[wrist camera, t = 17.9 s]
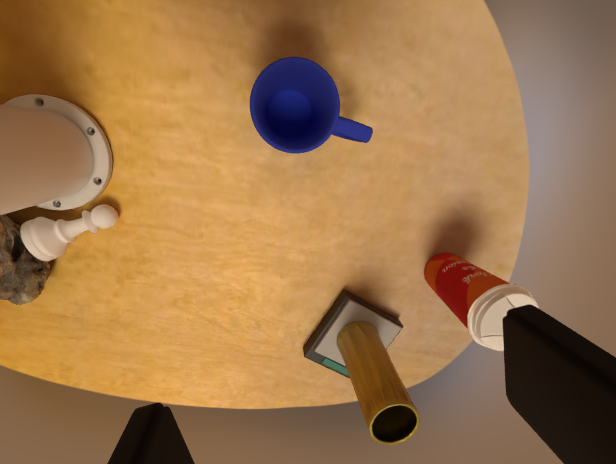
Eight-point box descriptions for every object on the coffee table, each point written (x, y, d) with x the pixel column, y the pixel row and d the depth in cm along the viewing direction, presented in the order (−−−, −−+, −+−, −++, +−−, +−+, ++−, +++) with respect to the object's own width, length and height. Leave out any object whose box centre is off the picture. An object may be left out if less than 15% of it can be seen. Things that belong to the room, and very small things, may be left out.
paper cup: (477, 256, 47) (558, 302, 34) (451, 301, 49) (519, 363, 36) (431, 237, 46) (498, 279, 32) (407, 285, 47) (460, 343, 34)
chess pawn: (50, 270, 38) (128, 239, 39) (14, 242, 34) (102, 209, 35) (55, 241, 41) (127, 214, 42) (23, 213, 37) (103, 184, 39)
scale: (302, 348, 48) (304, 359, 46) (343, 289, 46) (348, 297, 44) (357, 374, 51) (361, 386, 48) (398, 319, 49) (405, 328, 46)
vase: (329, 352, 46) (355, 443, 32) (346, 315, 45) (380, 393, 31) (368, 362, 47) (408, 454, 34) (385, 326, 46) (435, 407, 32)
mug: (339, 168, 42) (360, 177, 32) (246, 136, 39) (238, 136, 30) (362, 103, 40) (391, 92, 30) (266, 65, 37) (264, 41, 28)
